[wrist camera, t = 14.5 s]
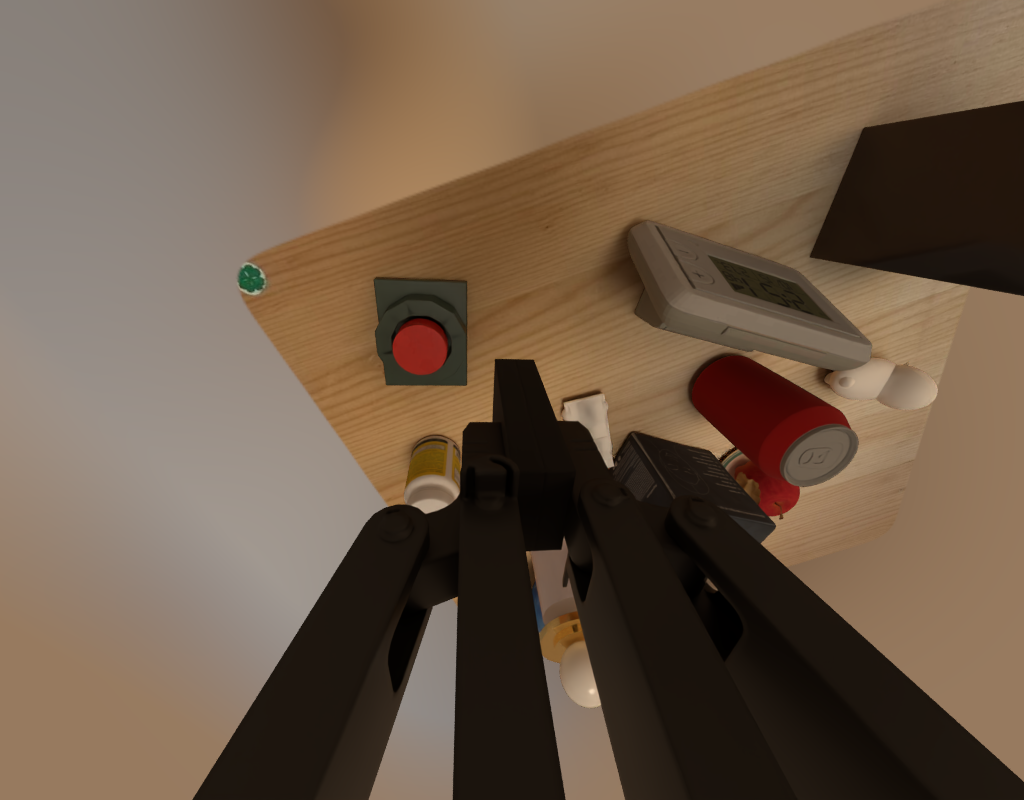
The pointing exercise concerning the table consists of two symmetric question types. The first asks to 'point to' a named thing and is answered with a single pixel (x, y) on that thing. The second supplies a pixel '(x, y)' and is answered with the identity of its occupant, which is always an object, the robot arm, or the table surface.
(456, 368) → the button box
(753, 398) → the beverage can
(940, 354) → the table surface
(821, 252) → the pillar
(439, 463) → the supplement bottle
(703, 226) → the table surface
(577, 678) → the perfume bottle
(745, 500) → the box
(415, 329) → the button
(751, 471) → the apple
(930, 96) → the table surface
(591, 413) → the toy car
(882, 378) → the toy creature
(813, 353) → the digital clock
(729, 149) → the table surface
